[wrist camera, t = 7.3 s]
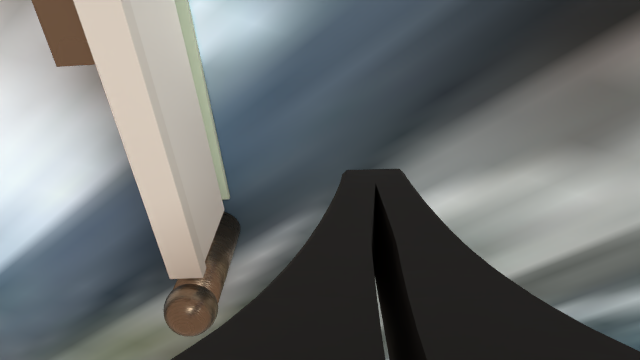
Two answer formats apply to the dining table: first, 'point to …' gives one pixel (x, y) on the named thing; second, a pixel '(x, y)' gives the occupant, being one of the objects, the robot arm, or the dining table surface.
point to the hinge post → (203, 285)
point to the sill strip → (201, 92)
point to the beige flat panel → (158, 123)
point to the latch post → (63, 32)
